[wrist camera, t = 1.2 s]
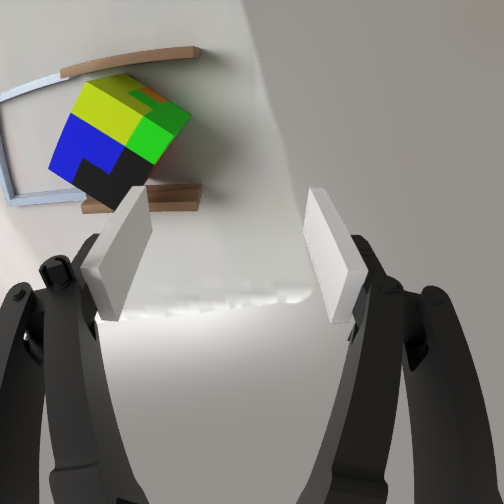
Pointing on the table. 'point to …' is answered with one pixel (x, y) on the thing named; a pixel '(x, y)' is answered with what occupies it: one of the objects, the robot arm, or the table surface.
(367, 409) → the robot arm
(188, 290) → the table surface
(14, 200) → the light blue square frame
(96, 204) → the channel
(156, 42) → the table surface
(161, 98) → the puzzle toy
